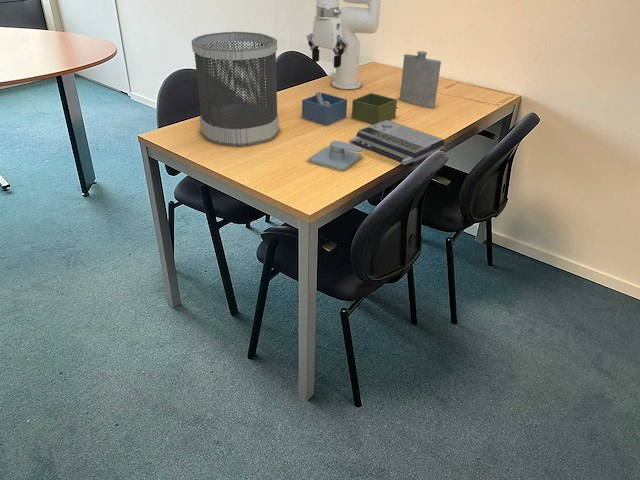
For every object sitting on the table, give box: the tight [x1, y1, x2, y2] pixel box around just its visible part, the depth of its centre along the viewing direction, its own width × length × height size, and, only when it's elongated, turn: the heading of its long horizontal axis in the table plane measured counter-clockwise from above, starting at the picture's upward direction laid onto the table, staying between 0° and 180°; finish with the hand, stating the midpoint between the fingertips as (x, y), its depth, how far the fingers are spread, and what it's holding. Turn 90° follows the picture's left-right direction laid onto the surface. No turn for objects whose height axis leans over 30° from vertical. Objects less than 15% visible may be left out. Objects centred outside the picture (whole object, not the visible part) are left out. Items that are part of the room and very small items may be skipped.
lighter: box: [314, 91, 330, 106], centre depth 192 cm, size 7×2×8 cm, turn 49°
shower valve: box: [308, 140, 364, 172], centre depth 161 cm, size 12×6×15 cm
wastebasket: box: [191, 31, 280, 147], centre depth 173 cm, size 25×25×30 cm
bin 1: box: [301, 92, 348, 127], centre depth 192 cm, size 12×12×7 cm
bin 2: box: [351, 92, 398, 125], centre depth 194 cm, size 12×12×7 cm
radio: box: [348, 120, 446, 167], centre depth 169 cm, size 24×5×20 cm
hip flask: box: [399, 50, 442, 109], centre depth 206 cm, size 16×4×20 cm, turn 49°
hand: (326, 64), depth 184 cm, fingers open, 9 cm apart
